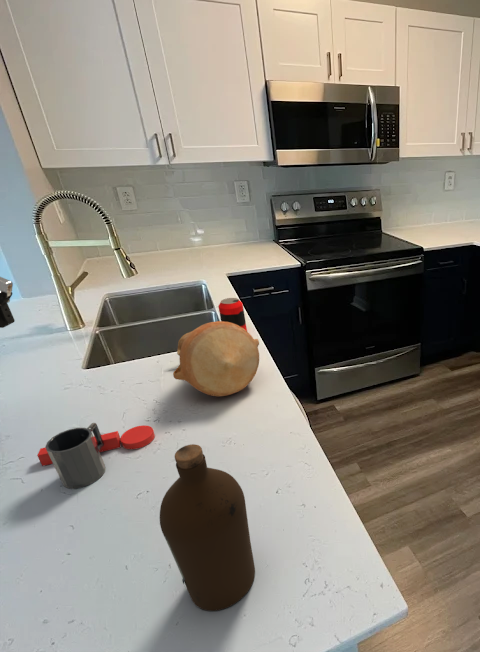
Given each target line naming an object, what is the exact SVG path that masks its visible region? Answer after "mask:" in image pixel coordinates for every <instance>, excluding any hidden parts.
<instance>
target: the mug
mask: <svg viewBox="0 0 480 652" xmlns="http://www.w3.org/2000/svg"><path fill="white" fill-rule="evenodd" d="M101 435H102V434H101V432H100V429H99V426H98V424H97V423H96V422H92V423H90V424H89V425H88V427H75V428H70V429H67V430H63V431H61V432H59V433H57V434H55V435H53V436H52V437H51V438H50V439H49V440H48V441H47V442H46V444H45V445H44V448H45V447H46V450H47V452H48V454H49V456H50V458H51V460H52V462H53V464H52V465H53V466H54V469H55V472H56V473H57V474H58V477H59V479H60V481H61V483H62V485H63V486H64V488H67V489H71V490H77V489H82V488H86V487H87V486H90V485H92V484H94V483H96V482H97V481H98V480H99V479H101V478H102V477H103V476H104V474H105V472H106V469H107V468H106V464H105V462H104V459H103V456H102V455H101V452H99V450H100V449H101V448H102V447H103V446H104V442H103V439H102V437H101ZM94 436H95V439H96V441H97V444H96V442H95V439H94Z"/></svg>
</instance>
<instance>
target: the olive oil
mask: <svg viewBox="0 0 480 652" xmlns="http://www.w3.org/2000/svg"><path fill="white" fill-rule="evenodd" d="M174 460H175V467H176V470H177V473H178V476H179V477H178V478H177V479H176V480H175V481H174V482H173V483H172V485H171V486H170V487H168V490H167V491H166V492H165V493H164V495H163V498H162V501H161V502H160V503H161V504H160V509H159V525H160V530H161V532H162V535H163V537H164V539H165V541H166V544H167V546H168V548H169V550H170V552H171V555H172V557H173V559H174V561H175V564H176V566H177V569H178V571H179V574H180V575H181V580H182V581H181V582H182V584H183V585H184V586H183V587H184V588H186V590H187V592H188V594H189V597H190V599H191V601H192V603H193V604H194V605H195V606H196V607H197V608H199V609H201V610H204V611H208V612H216V611H221V610H225V609H228V608H230V607H232V606H234V605H235V604H237V603H238V602H239V601H241V600H242V599H243V598H244V597H245V596H246V595H247V594H248V592H249V591H250V589H251V588H252V586H253V583H254V580H255V577H256V567H255V559H254V554H253V549H252V543H251V534H250V529H249V521H248V513H247V506H246V505H247V503H246V498H245V493H244V491H243V489H242V486H241V485H240V484H239V482H238V481H237V480H236V478H234V476H233V475H231V474H230V473H228V472H226V471H224V470H221V469H217V468H212V467H208V464H207V459H206V455H205V454H204V451H203V449H202V446H201V445H199V444H194V443H193V444H187V445H184V446H182V447H180V448H179V449H178V450H176V451H175V453H174ZM185 586H186V587H185Z"/></svg>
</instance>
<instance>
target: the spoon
mask: <svg viewBox="0 0 480 652" xmlns="http://www.w3.org/2000/svg"><path fill="white" fill-rule="evenodd" d="M93 437H94V439H95V436H94V435H93ZM101 437H102V439H103V442H104V446H103V447H102V448H101V449H100V450H99V452H100V453H103V452H106V451H110V450H115V449H119V448H121V446H122V447H123V448H124V449H126V450H137V449H141V448H143V447H146V446H147V445H150V444H151V443H152V442H153V441H154V439H155V438H156V435H155V431H154V428H153V427H152V426H150V425H147V424H146V425H143V424H142V425H137V426H135V427H131V428H129V429H127V430H126V431H124V432H123V433H122V434H121V436H120V434H119V431H118V430H116V431H112V432H107V433H103V434H101ZM95 442H96V444H97V441H96V439H95ZM36 456H37V458H38V461H39V462H40V464H41V466H42V467H44V466H48V465H53V462H52V460H51V458H50V456H49V454H48V452H47V450H46V447H45V446H44V447H41V448H40V449H39V451H38V452H37V455H36Z"/></svg>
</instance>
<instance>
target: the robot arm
mask: <svg viewBox="0 0 480 652" xmlns="http://www.w3.org/2000/svg"><path fill="white" fill-rule="evenodd" d="M13 286H14V284H13V282H12V280H10V279H8V278H5V277H2V276H0V329H5V328H6V327H8V326H10V325H12V324H14V323H15V321H16V320H15V318H14V315H13V313H12V311H11V308H10V307H9V303H10V301H11V298H12V296H13Z"/></svg>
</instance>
